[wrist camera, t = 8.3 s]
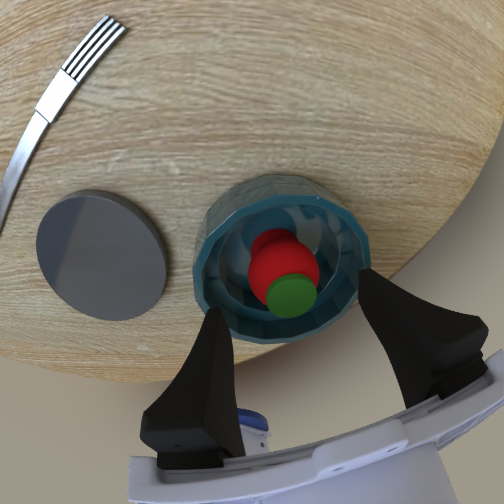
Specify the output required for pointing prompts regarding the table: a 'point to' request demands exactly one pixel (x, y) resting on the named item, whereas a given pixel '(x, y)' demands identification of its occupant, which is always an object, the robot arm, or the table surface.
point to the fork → (57, 101)
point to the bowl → (307, 232)
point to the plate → (102, 255)
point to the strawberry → (283, 273)
